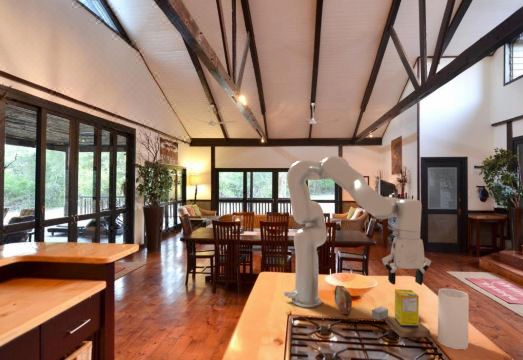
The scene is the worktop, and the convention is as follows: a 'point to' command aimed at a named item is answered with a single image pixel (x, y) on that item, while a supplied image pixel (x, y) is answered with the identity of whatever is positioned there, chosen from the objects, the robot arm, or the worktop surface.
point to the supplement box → (406, 308)
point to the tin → (343, 299)
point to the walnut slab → (408, 329)
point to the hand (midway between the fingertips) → (405, 283)
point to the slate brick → (379, 313)
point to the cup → (453, 318)
